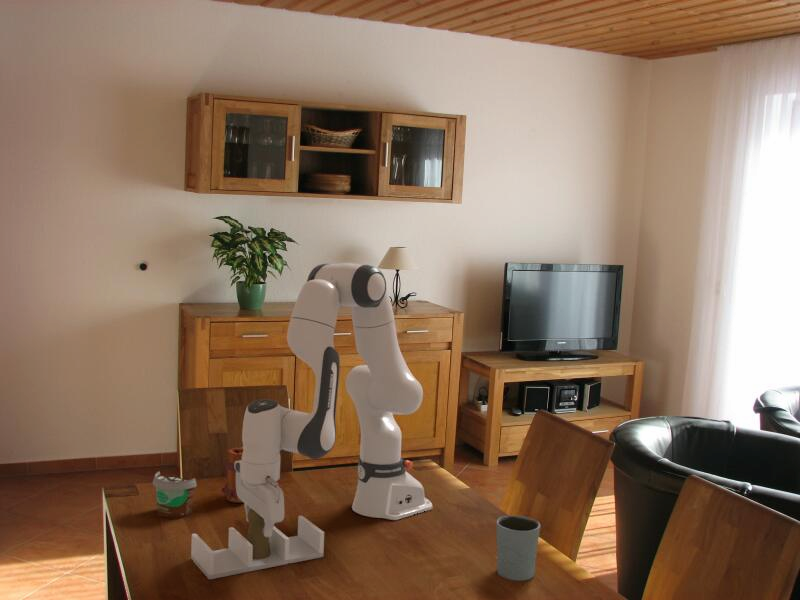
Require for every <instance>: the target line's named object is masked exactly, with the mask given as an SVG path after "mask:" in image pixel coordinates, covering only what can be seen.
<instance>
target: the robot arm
mask: <svg viewBox="0 0 800 600" xmlns="http://www.w3.org/2000/svg"><path fill="white" fill-rule="evenodd" d="M347 307H350V308H351V320H352V328H353V334H354V340H355V347H356V351H357V353H358V355H359V357H360V358H361V359H362V360H363V362H365V364H363V365H362V364H360V365H356V366H354V367H353V368H352V369H350V371H348V374H347V377H346V380H345V390H346V393H347V394H348V395H349V397H350V398H351V400H352V402H353V404H354V407H355V410H356V414H357V418H358V423H359V429H360V449H359V450H360V451H359V457H358V458H357V459H358V460H357V461H358V462H357V463H358V464H357V487H356V492H355V494H354V495H355V496H354V499H353V502H352V506H351V508H352V511H354V512H355V513H356V514H359V515H361V516H363V517H364V516H365V517H369V518H377V519H380V518H381V519H385V520H391V521H397V520H398V521H399V520H400V519H404V518H407V517H411V516H414V514H415V515H418V514H421V513H424V511H425V512H428V511H431V510H433V503H432V502H431V500H429V499H428V498H427V497H425V489H424V487H423V484H422V483H421V482H420V481H419V480H417V478H415V477H413V475H412V474H410V473H409V472H407V470H411V469H413V467H414V466H413V465H414V463H413V462H412V461H410V460H409V459H406V460H405V459H404V458H402V457H401V455H402V430H401V427H400V426H399V425H398V423H397V421H396V419H395V418H394V415H411V414H413V413H416V411H417V410H418V409H419V408H420V406H421V404H422V402H423V397H424V390H423V387H422V385H421V383H420V382H419V381H418V379H416V377H414V375H413V374H412V372H411V371H410V369H409V367H408V365H407V363H406V360H405V358H404V356H403V354H402V352H401V348H400V345H399V340H398V334H397V329H396V328H397V327H396V322H395V315H394V310H393V305H392V301H391V298H390V294H389V291H388V288H387V281H386V278H385V275H384V273H383V272H382V271H381V270H380V269H379V268H378V267H376V266H374V265H370V264H361V263H360V264H359V263H353V262H344V263H323V264H319V265H316V266H315V267H313V269H312V270H311V271H310V272H309V275H308V277H307V280H306V282H305V283H304V284H303V285H302V287H301V290H300V292H299V294H298V296H297V298H296V301H295V303H294V307H293V310H292V313H291V316H290V320H289V323H288V328H287V334H286V341H287V344H288V347H289V348H290V351H291V352H292V353H293V354H294V355H295V356H296V357H297V358H298V359H300V360H301V361H302V362H304V364H307V365H308V366H309V367H310V369H312V371H313V373H314V376H315V384H314V385H315V386H314V398H313V406H312V411H311V412H310V413H309V412H304V411H298V410H296V409H291V408H287V407H284V406H282V405H280V404H279V402H278V401H276V400H274V399H266V398H264V399H257V400H254V401H252V402H251V403H249V404H247V406H246V409H245V411H244V417H243V422H242V433H241V434H242V435H241V436H242V437H241V439H242V446H244V451H243V454H242V460H240V461H235V464H234V468H235V470H236V471H237V472H236V493H237V496H238V498H239V499H240V500H242V501H243V502H242V503H244V504H243V505H244V510H245V515H246V518H245V519H246V521H247V522H248V524H249V523H250V522H249V521H248V518H247V514H248V511H249V510H250V509H253V510H254V511H255V512H256V513H257V514H259V515H260V516H261V517H262V518H263V519H264V523H265V526H264V528H263V529H262V531H263V532H262V534H263V535H264V536H265V537H270V536H272V529H273V526H275V524H277V523H282V522H283V521H284V518H285V496H284V491H283V489H282V488H281V486H279V483H278V481H279V480H280V479H281V477H280V476H281V475H280V474H281V453H280V452H281V451H282V450H283V451H285V452H290V453H294V454H298V455H300V456H303V457H307V458H309V459H312V460H318V459H321V458H323V457H324V456H326V455H327V454H328V453H330V452H331V450H333V448H334V446H335V444H336V440H337V425H336V413H337V401H338V393H339V381H340V369H341V367H340V366H341V365H340V363H341V362H340V355H339V352H338V351H337V350H336V349H335V342H334V337H335V336H334V335H335V330H336V325H337V320H338V316H339V315H338V314H339V310H340V308H347ZM406 468H407V470H406ZM417 513H418V514H417Z"/></svg>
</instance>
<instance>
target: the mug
mask: <svg viewBox="0 0 800 600" xmlns="http://www.w3.org/2000/svg"><path fill="white" fill-rule="evenodd" d="M243 451H244V446H243V445H241V447H233V448H231V449H228V450H227V457H226V460H225V461H224V462H223V463H222V466H223V467H224V468H225V469H226V484H225V485H224V486H223V487H222V488H221V492H222V494H224V495H225V496H226V500H227V501H229V502H231V503H236V504H237V503H238V504H240V503H244V502H243V501H242V500H240V499H239V498H238V496H237V493H236V472H237V471H236V470H235V468H234V464H235V461H240V460H242V454H243Z"/></svg>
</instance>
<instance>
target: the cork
mask: <svg viewBox="0 0 800 600" xmlns="http://www.w3.org/2000/svg"><path fill="white" fill-rule="evenodd" d="M246 515H247V518H248V521H249V522H250V523H249V522H248V521H247V522H248V524H249V525H248V532H247V537H246V540H247V541H249V542H250V543H251V544H252V545H253V554H252V559H263V558H267V557H269V556H270V554H271V552H270V542H269V537H265V536H264V535H263V534H262V532H263V531H262V529H263V528H264V526H265V523H264V519H263V518H262V517H261V516H260V515H259V514H257V513H256V512H255V511H254V510H253V509H250V510H249V511H248V514H246Z"/></svg>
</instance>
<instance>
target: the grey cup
mask: <svg viewBox="0 0 800 600" xmlns="http://www.w3.org/2000/svg"><path fill="white" fill-rule="evenodd" d="M540 530H541V523H540V522H539V521H538V520H536V519H533V518H531V517H527V516H522V515H505V516H501V517H499V518H497V520H496V542H497V543H496V546H497V548H496V551H497V553H496V555H497V556H496V557H497V562H496V573H497V574H498V575H499V576H500V577H502V578H504V579H507V580H510V581H516V582H517V581H519V582H521V581H524V582H525V581H529V580H531V579H532V578H533V577H534V575H535V573H536V572H535V571H536V559H537V553H538V552H537V551H538V546H539V545H538V543H539V537H540Z"/></svg>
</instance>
